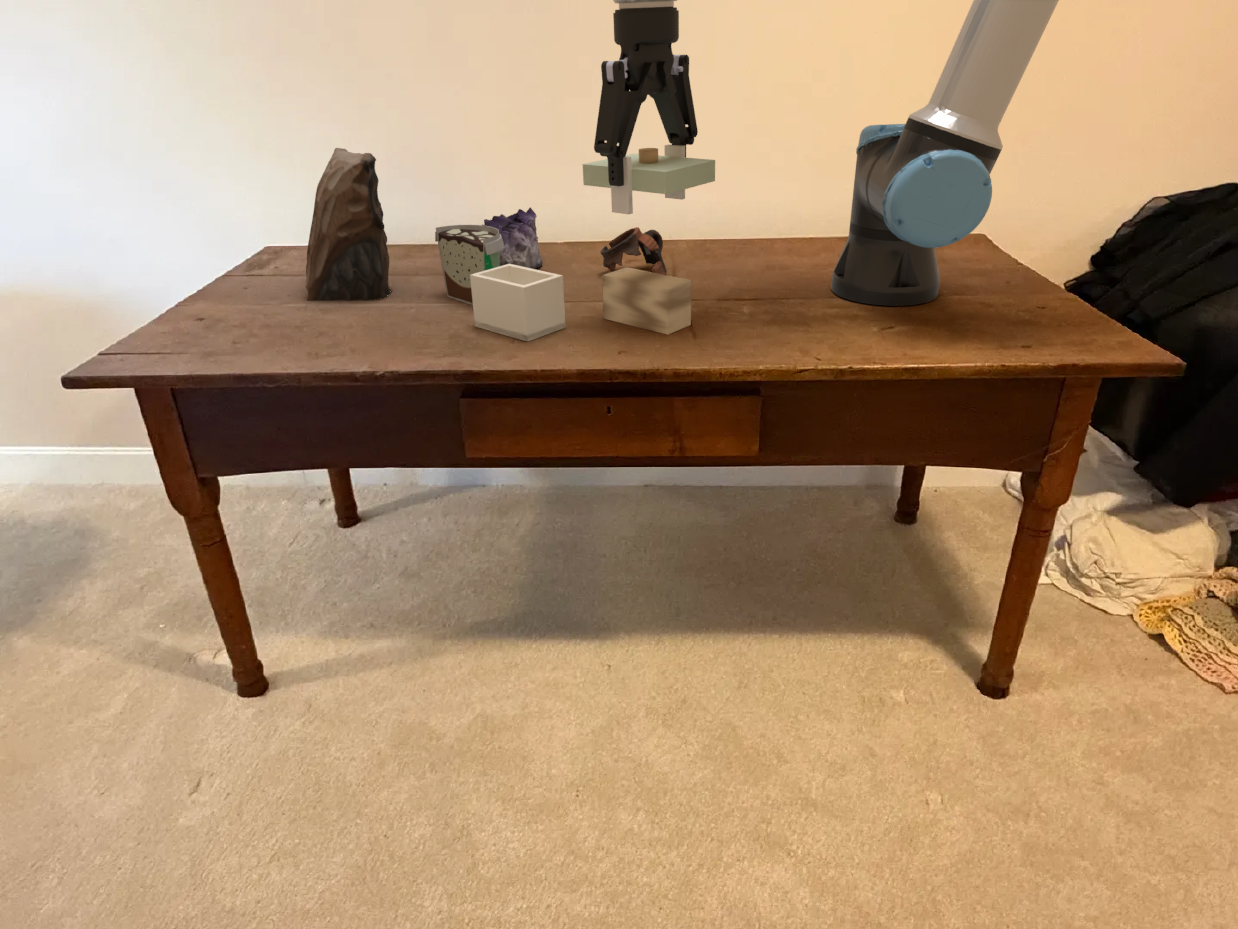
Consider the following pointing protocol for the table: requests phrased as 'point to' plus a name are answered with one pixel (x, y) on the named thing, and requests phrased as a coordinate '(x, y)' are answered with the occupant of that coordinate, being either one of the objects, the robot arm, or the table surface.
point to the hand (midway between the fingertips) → (649, 205)
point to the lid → (655, 172)
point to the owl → (347, 233)
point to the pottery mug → (635, 249)
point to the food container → (466, 256)
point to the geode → (518, 238)
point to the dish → (518, 301)
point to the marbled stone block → (647, 300)
